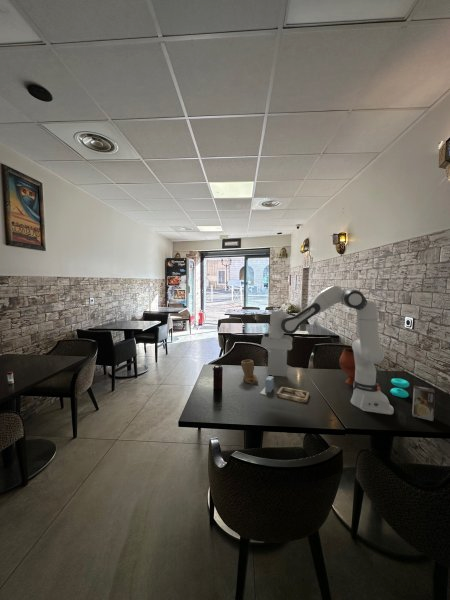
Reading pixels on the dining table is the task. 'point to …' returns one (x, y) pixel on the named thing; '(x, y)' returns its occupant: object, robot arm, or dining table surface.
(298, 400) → the wooden tray
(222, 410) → the dining table surface
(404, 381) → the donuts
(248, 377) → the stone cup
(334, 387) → the dining table surface
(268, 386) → the blue grey block
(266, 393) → the mat
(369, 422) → the dining table surface
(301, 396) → the offcut upper
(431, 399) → the grey picture frame
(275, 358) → the grey box
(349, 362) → the terracotta vase
